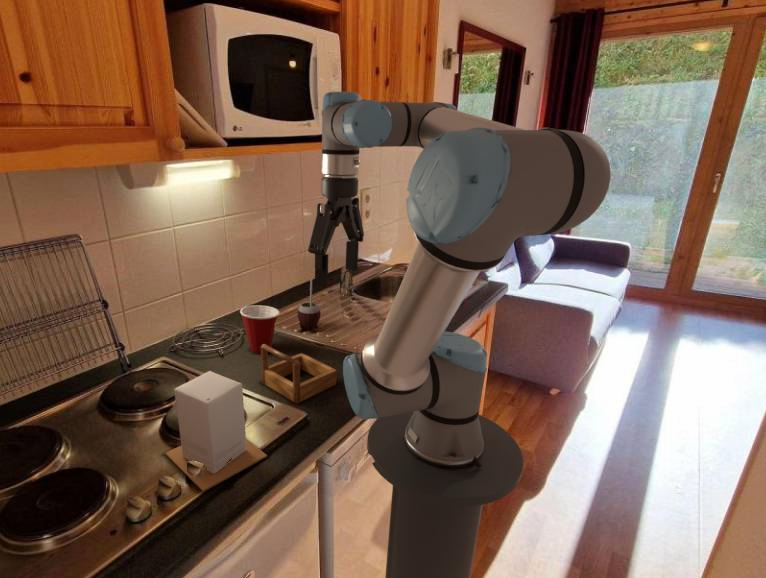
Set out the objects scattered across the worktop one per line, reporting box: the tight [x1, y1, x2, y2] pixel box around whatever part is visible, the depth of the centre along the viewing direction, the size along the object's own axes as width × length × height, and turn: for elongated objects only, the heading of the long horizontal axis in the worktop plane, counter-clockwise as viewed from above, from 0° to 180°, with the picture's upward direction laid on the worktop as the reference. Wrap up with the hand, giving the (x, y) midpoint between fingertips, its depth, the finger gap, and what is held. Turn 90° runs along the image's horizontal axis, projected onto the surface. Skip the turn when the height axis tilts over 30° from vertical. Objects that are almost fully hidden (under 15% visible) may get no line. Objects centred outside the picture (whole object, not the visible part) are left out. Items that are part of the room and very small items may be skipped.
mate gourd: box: [297, 277, 322, 333], centre depth 147 cm, size 8×8×15 cm
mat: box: [164, 438, 268, 493], centre depth 92 cm, size 14×14×1 cm
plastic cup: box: [239, 304, 280, 355], centre depth 134 cm, size 11×11×12 cm
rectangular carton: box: [173, 370, 247, 474], centre depth 89 cm, size 9×9×15 cm
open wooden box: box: [260, 344, 338, 405], centre depth 116 cm, size 13×13×11 cm
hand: (337, 277), depth 105 cm, fingers open, 13 cm apart
